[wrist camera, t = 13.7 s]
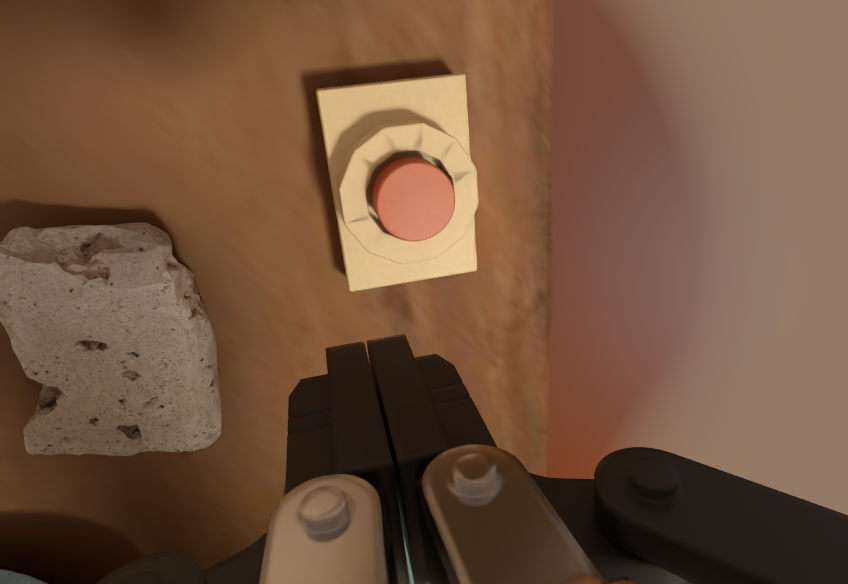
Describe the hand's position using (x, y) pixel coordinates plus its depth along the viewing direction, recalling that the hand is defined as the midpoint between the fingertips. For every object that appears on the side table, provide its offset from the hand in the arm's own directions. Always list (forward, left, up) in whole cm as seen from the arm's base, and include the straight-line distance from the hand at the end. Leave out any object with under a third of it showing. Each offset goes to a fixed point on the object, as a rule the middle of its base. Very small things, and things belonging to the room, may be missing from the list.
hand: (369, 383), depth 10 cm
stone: (+2, +13, -20) cm, 24 cm away
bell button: (-2, -3, -16) cm, 17 cm away
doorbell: (-2, -3, -20) cm, 20 cm away
